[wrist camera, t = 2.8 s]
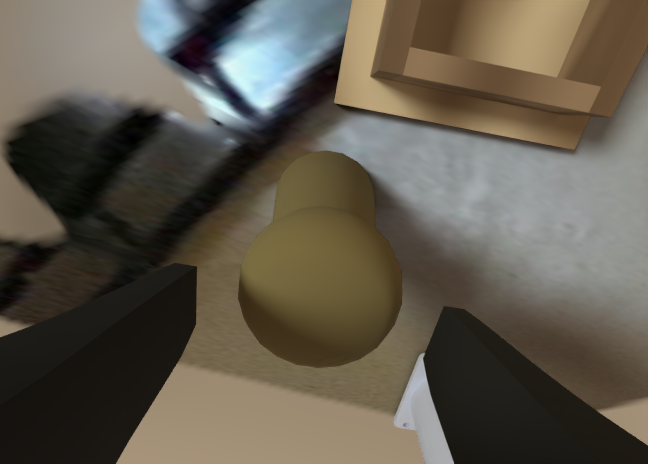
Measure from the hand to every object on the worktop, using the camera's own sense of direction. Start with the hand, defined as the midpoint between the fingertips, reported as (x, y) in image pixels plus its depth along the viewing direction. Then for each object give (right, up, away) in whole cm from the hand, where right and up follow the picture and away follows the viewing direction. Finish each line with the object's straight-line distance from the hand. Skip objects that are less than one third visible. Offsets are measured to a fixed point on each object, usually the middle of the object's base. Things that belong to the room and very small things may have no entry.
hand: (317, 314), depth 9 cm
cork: (0, +4, +10) cm, 11 cm away
